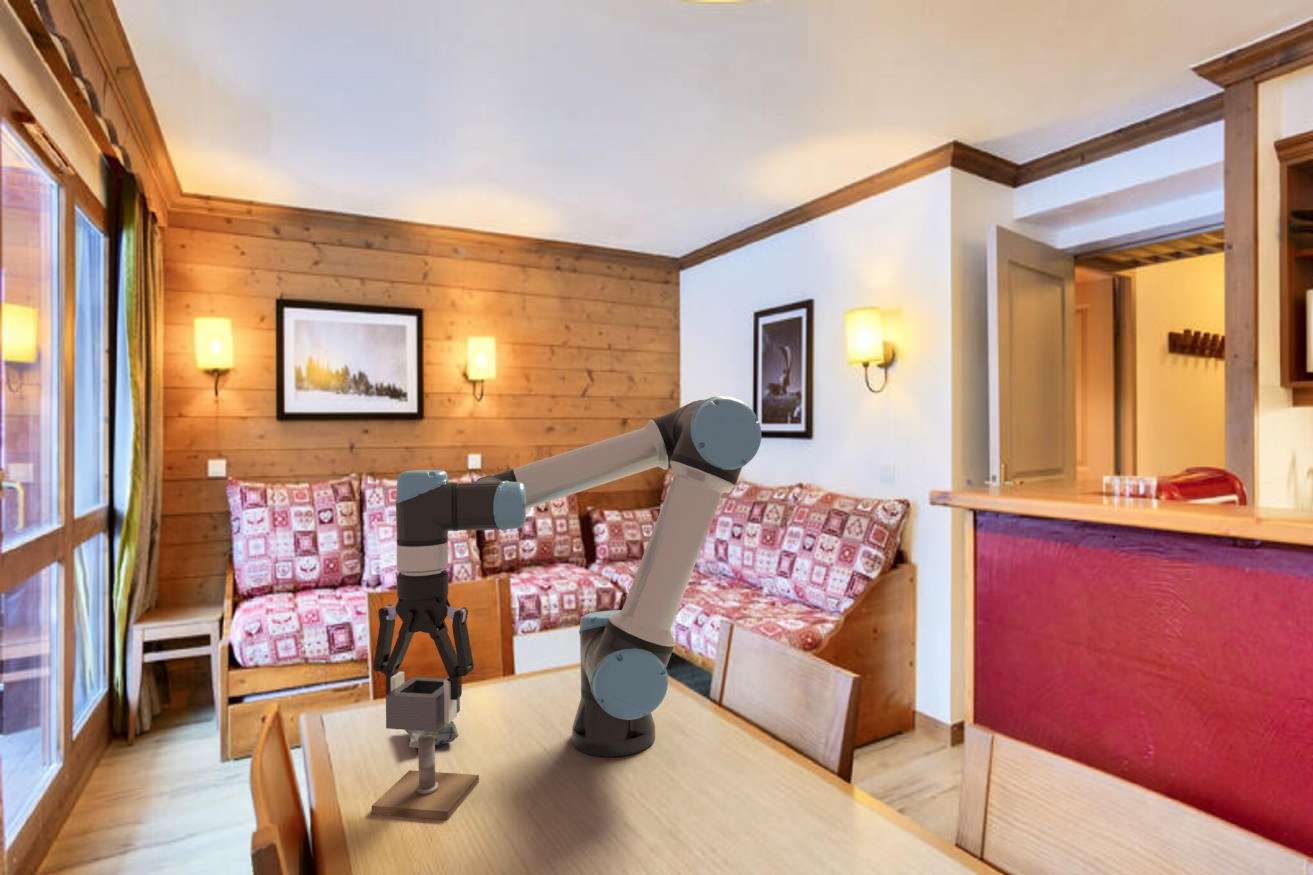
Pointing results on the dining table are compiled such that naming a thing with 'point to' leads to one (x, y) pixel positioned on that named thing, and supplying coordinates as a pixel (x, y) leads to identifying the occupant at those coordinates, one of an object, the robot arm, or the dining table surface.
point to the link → (417, 705)
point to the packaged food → (435, 735)
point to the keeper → (426, 789)
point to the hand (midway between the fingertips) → (424, 717)
